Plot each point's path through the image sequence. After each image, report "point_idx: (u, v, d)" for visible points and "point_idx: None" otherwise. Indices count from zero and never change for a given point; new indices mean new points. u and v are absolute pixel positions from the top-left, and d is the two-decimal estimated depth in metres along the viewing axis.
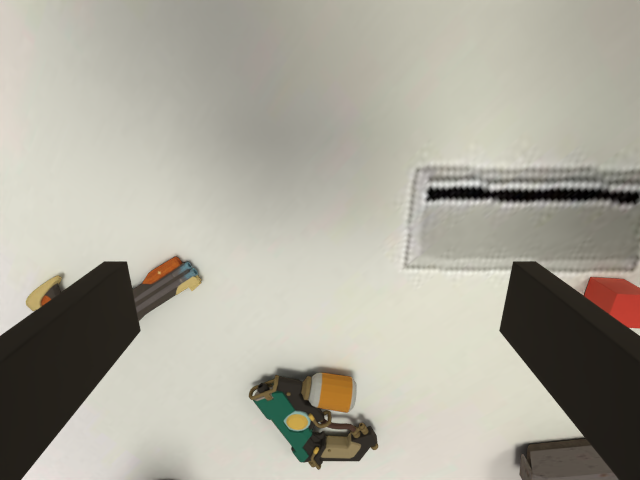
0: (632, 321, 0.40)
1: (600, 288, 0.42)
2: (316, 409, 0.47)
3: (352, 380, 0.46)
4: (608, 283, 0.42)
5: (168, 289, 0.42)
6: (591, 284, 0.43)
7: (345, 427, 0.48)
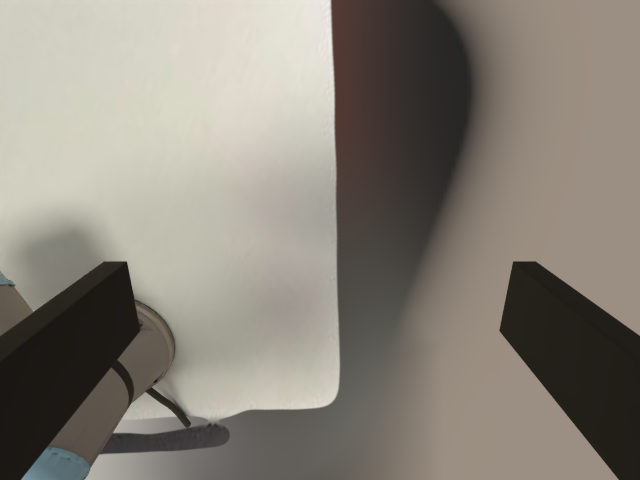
0: None
1: None
2: None
3: None
4: None
5: None
6: None
7: None
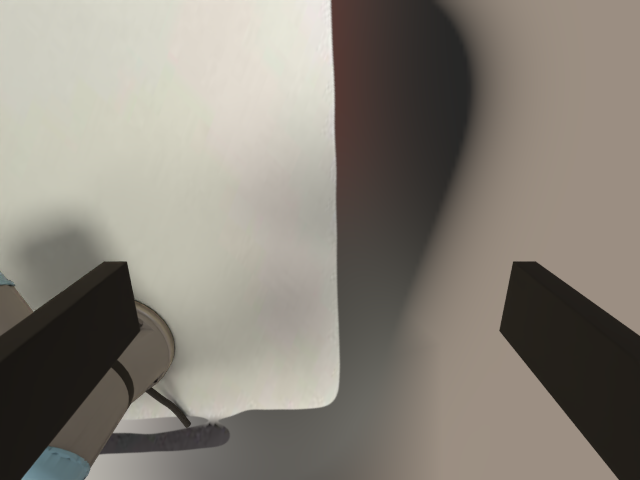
0: None
1: None
2: None
3: None
4: None
5: None
6: None
7: None
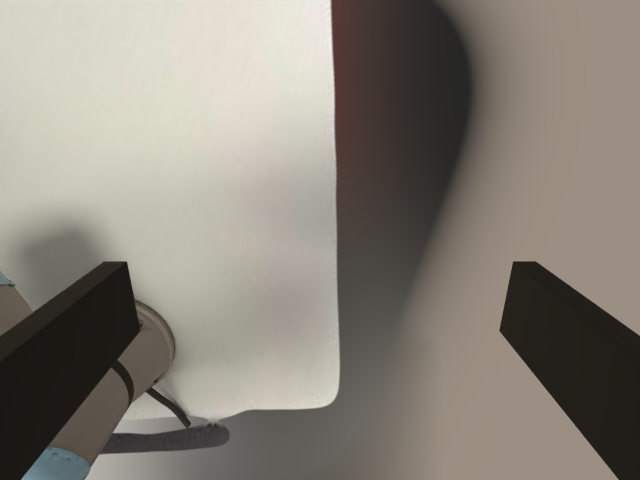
0: None
1: None
2: None
3: None
4: None
5: None
6: None
7: None
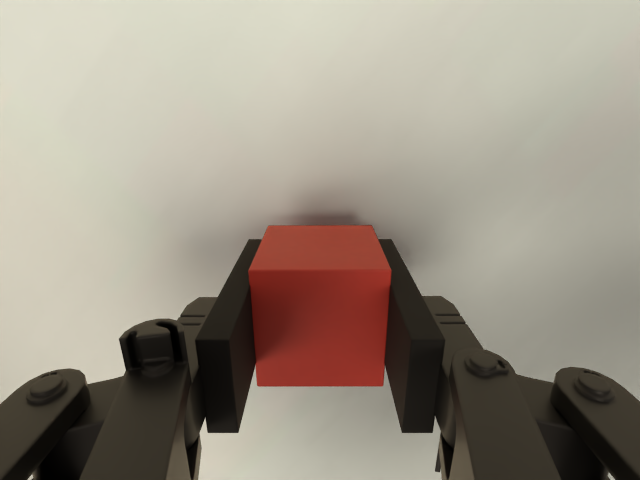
0: (291, 297, 0.11)
1: None
2: None
3: None
4: None
5: None
6: None
7: None
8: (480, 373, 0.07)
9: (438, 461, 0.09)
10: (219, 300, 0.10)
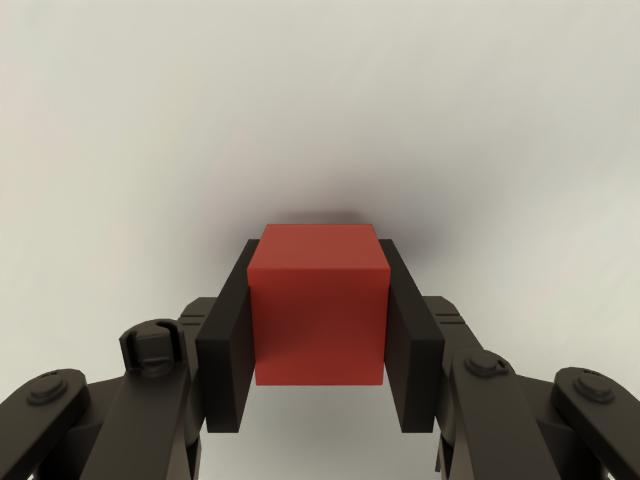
0: (290, 296, 0.11)
1: None
2: None
3: None
4: None
5: None
6: None
7: None
8: (480, 373, 0.07)
9: (438, 461, 0.09)
10: (219, 300, 0.10)
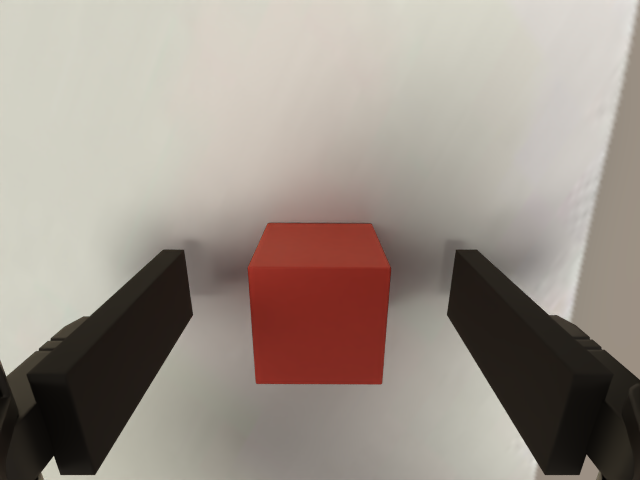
0: (290, 294, 0.11)
1: None
2: None
3: None
4: None
5: None
6: None
7: None
8: None
9: None
10: (86, 323, 0.09)
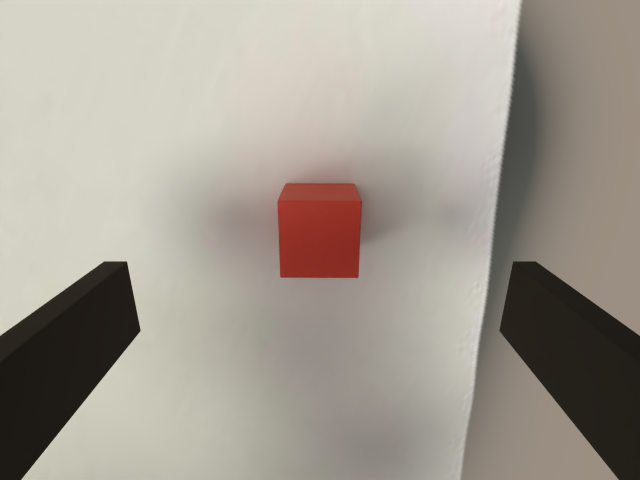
0: (302, 218, 0.18)
1: None
2: None
3: None
4: None
5: None
6: None
7: None
8: None
9: None
10: None
